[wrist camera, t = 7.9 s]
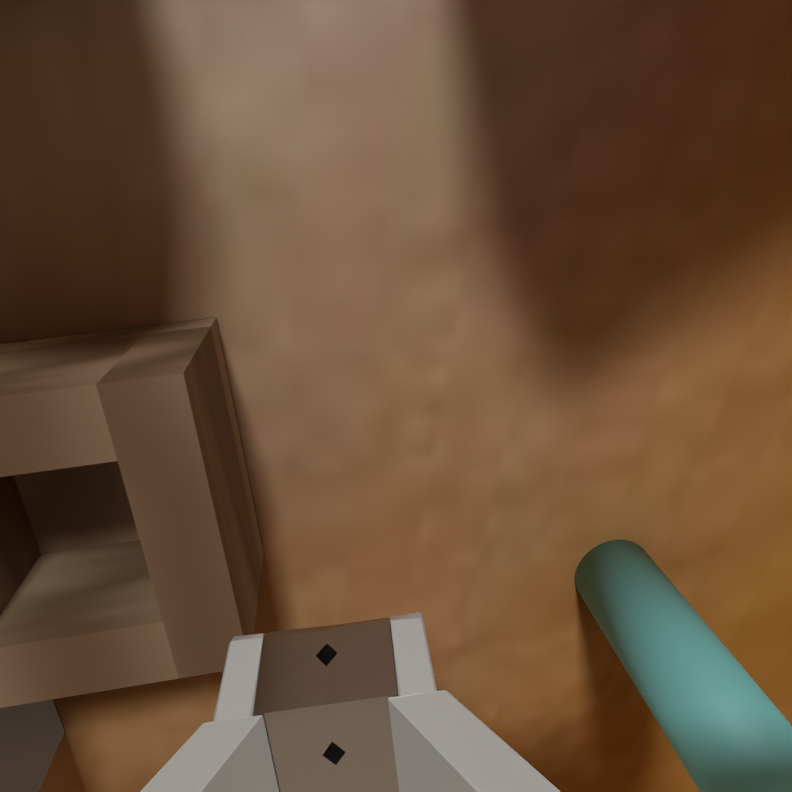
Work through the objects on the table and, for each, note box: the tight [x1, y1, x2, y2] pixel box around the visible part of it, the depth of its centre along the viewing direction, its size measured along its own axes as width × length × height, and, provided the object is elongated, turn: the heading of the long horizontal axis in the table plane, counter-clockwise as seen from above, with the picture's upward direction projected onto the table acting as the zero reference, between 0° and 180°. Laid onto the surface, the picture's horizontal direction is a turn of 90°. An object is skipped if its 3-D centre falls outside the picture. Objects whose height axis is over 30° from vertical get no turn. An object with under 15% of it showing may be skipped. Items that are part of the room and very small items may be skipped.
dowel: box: [575, 540, 792, 792], centre depth 19 cm, size 3×3×9 cm
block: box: [0, 318, 264, 708], centre depth 17 cm, size 8×8×5 cm
